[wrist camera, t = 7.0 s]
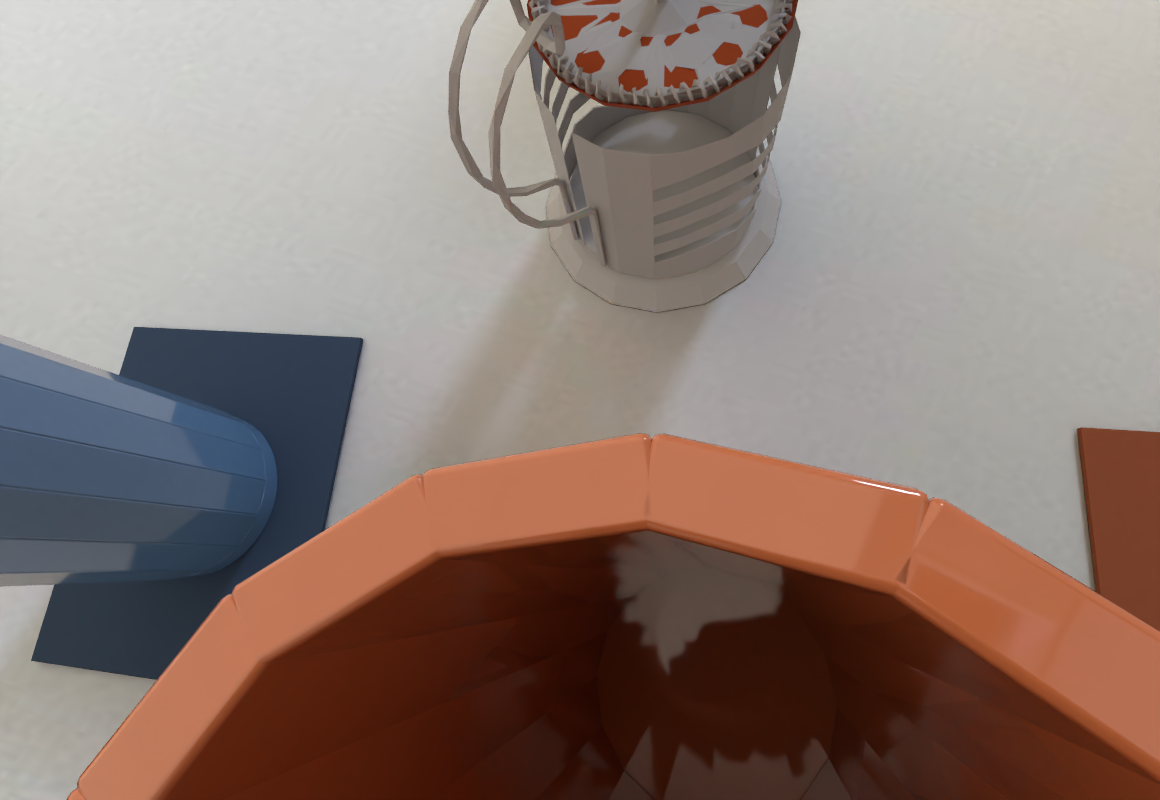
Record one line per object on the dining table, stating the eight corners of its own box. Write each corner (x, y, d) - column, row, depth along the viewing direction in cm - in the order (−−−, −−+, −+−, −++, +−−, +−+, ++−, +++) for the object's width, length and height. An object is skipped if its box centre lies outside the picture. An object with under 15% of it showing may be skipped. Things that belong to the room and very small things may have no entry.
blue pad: (290, 698, 21) (287, 699, 21) (35, 659, 23) (30, 660, 23) (363, 339, 25) (360, 337, 25) (137, 328, 27) (133, 326, 26)
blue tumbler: (256, 586, 23) (-335, 624, 9) (107, 568, 24) (-621, 578, 10) (294, 419, 24) (-160, 244, 11) (153, 409, 25) (-421, 237, 12)
